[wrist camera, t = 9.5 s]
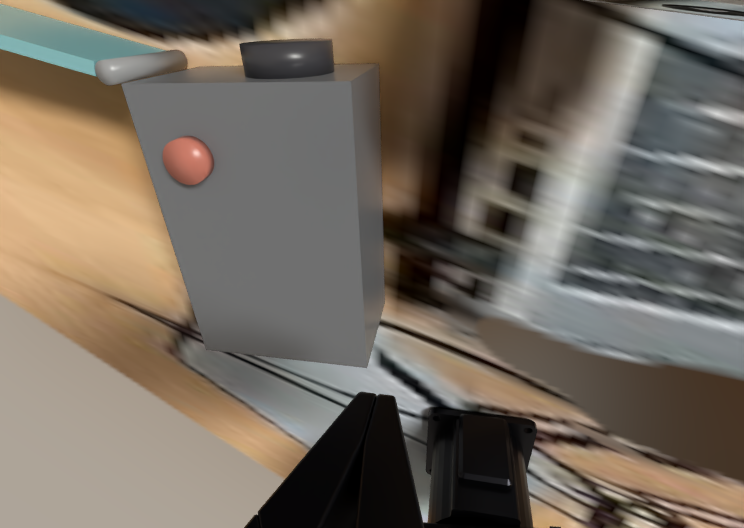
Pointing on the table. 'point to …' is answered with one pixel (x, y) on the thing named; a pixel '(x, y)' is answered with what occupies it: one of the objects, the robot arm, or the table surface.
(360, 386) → the table surface
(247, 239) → the box
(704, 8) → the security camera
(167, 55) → the side door
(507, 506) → the robot arm
